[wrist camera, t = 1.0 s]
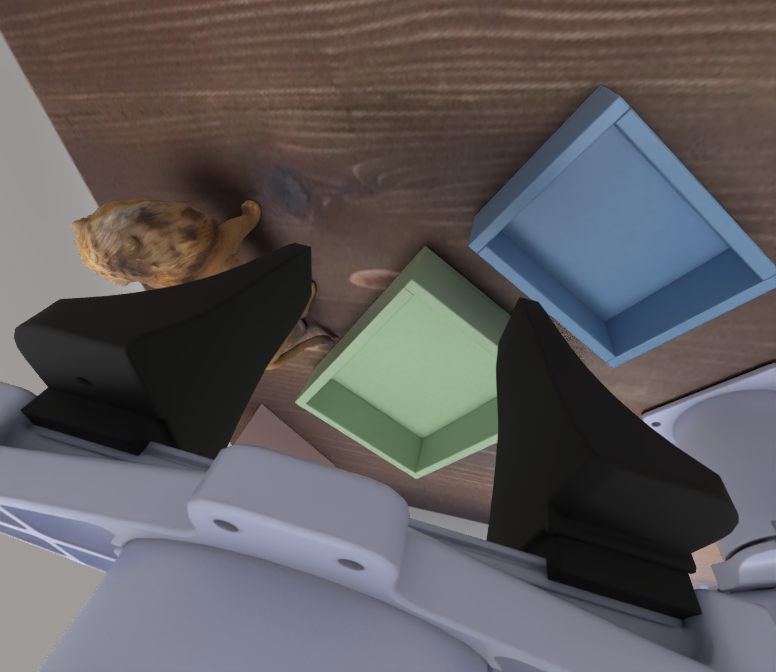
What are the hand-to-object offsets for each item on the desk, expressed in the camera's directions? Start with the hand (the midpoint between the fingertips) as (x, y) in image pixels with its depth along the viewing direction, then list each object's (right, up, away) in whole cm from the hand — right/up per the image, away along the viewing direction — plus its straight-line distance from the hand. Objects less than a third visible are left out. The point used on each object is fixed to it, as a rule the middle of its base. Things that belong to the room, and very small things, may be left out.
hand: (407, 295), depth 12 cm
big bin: (+2, -4, +15) cm, 16 cm away
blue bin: (+10, +4, +6) cm, 13 cm away
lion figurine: (-9, +4, +13) cm, 16 cm away
